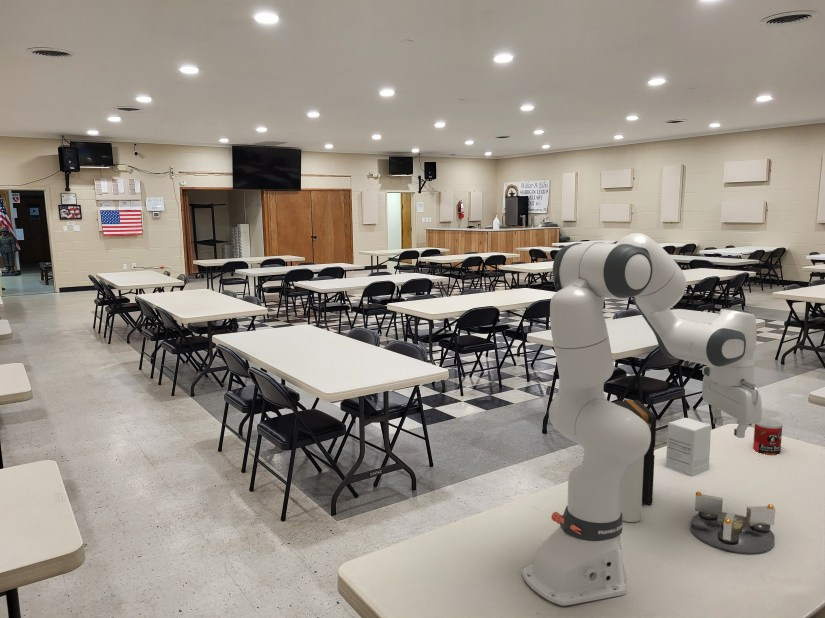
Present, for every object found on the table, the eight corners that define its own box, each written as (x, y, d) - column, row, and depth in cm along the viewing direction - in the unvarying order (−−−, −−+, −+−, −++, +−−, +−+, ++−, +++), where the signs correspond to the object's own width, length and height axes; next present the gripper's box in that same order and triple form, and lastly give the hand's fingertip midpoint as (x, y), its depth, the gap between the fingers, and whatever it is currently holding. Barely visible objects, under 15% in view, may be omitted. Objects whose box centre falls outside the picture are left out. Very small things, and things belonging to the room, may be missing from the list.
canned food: (758, 459, 197) (760, 426, 195) (748, 450, 205) (751, 418, 203) (784, 460, 195) (786, 427, 194) (774, 451, 203) (776, 419, 202)
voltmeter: (656, 506, 165) (661, 415, 161) (623, 506, 165) (627, 415, 162) (637, 482, 180) (641, 398, 177) (607, 481, 181) (610, 398, 177)
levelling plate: (740, 561, 138) (741, 544, 137) (673, 526, 154) (674, 510, 153) (791, 543, 146) (792, 526, 145) (723, 511, 162) (724, 496, 161)
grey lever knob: (753, 533, 147) (754, 509, 146) (742, 524, 151) (743, 501, 150) (777, 532, 147) (779, 508, 146) (766, 523, 151) (767, 500, 150)
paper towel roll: (627, 525, 155) (631, 442, 152) (610, 514, 160) (614, 434, 157) (649, 519, 158) (653, 438, 155) (632, 509, 163) (636, 431, 160)
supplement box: (682, 463, 194) (684, 416, 192) (709, 472, 187) (712, 424, 185) (664, 469, 189) (666, 422, 187) (691, 479, 182) (694, 430, 180)
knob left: (721, 515, 156) (723, 492, 155) (720, 522, 152) (722, 499, 151) (695, 510, 159) (696, 487, 158) (693, 517, 155) (695, 494, 154)
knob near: (719, 531, 148) (721, 507, 147) (740, 536, 145) (741, 512, 144) (715, 542, 143) (717, 517, 142) (737, 547, 140) (738, 522, 139)
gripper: (771, 386, 140) (766, 445, 142) (722, 366, 160) (718, 418, 162) (744, 386, 140) (739, 445, 141) (698, 365, 160) (695, 418, 162)
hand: (728, 430), depth 152 cm, fingers open, 8 cm apart
